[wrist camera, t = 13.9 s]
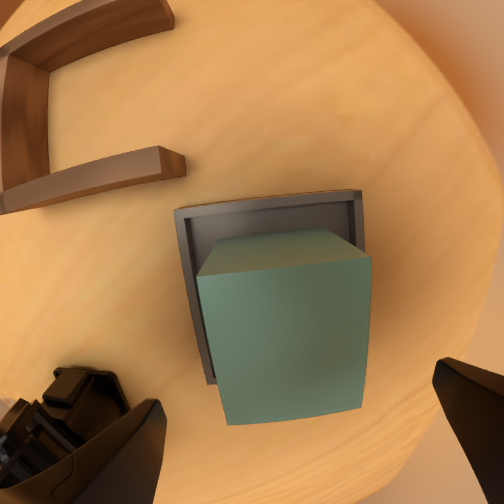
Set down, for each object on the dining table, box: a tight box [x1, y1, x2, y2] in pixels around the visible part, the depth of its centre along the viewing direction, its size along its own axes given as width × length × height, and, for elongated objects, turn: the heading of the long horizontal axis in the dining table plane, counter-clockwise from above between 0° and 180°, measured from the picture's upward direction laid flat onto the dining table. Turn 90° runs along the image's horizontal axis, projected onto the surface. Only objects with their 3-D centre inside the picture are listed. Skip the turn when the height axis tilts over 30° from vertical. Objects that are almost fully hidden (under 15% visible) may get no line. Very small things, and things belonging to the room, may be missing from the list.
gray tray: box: [173, 189, 365, 385], centre depth 17 cm, size 11×10×2 cm
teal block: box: [196, 227, 371, 425], centre depth 14 cm, size 7×6×7 cm
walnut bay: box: [0, 0, 186, 215], centre depth 13 cm, size 11×11×5 cm
